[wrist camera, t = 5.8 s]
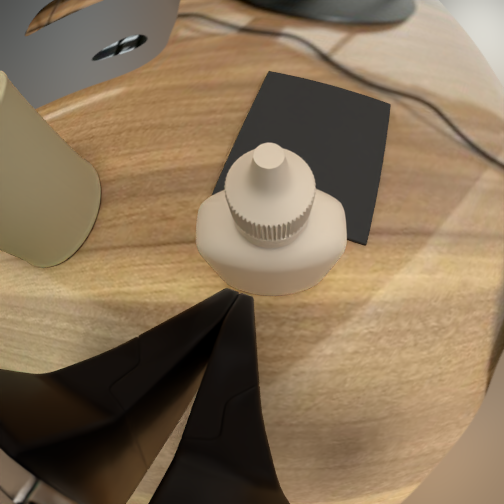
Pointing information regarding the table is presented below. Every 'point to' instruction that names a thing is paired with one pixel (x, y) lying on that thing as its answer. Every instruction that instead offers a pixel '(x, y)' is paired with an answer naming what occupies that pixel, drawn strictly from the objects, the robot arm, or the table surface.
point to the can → (41, 186)
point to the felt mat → (322, 140)
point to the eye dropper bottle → (271, 225)
